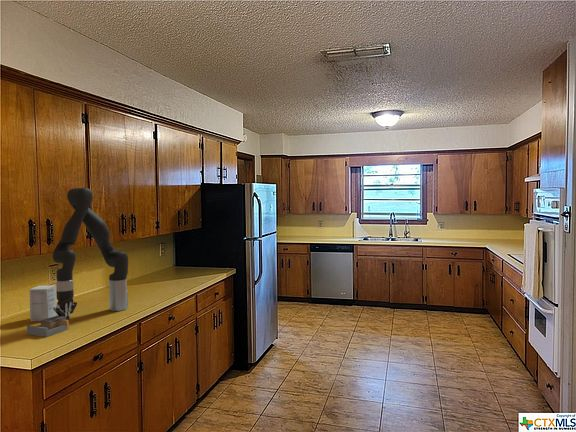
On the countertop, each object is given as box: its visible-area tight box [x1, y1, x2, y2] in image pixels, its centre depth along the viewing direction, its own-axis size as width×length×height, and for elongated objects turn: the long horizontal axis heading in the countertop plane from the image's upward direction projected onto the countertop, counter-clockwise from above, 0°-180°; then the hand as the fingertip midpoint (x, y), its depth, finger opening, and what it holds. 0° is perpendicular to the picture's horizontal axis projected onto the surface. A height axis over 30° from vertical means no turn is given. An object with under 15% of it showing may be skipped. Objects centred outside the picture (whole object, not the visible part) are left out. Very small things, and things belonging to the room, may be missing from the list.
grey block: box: [40, 315, 66, 330], centre depth 204 cm, size 9×6×6 cm, turn 160°
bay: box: [26, 319, 70, 338], centre depth 202 cm, size 12×12×4 cm
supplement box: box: [28, 285, 58, 322], centre depth 223 cm, size 10×9×17 cm
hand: (66, 323), depth 211 cm, fingers closed
